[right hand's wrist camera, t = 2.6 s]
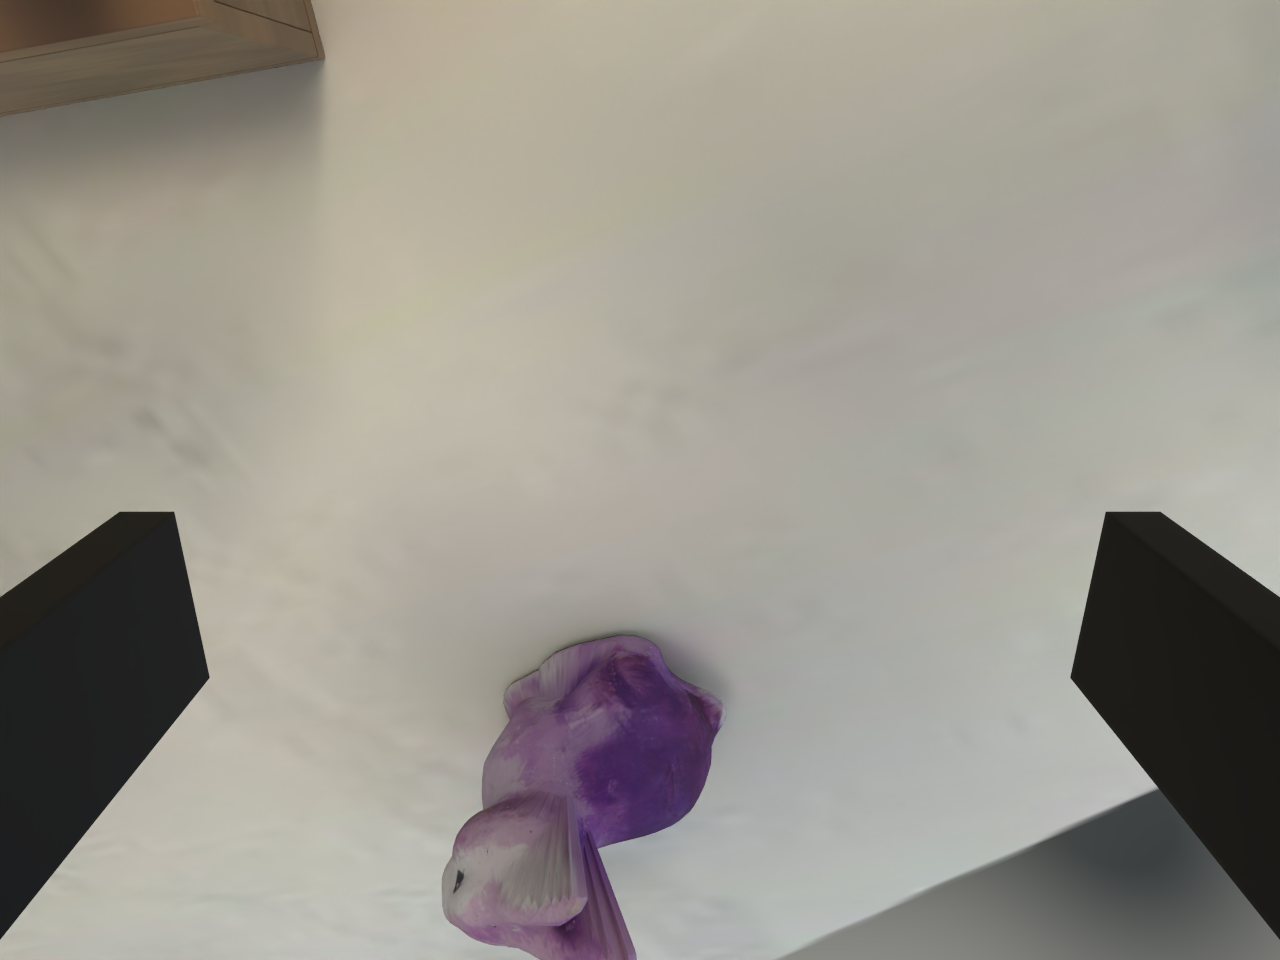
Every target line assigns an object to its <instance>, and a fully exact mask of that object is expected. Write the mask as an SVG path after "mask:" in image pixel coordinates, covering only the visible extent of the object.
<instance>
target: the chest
mask: <svg viewBox="0 0 1280 960" xmlns="http://www.w3.org/2000/svg"><path fill="white" fill-rule="evenodd" d="M214 3H215V6H216V9H217V13H218V16H219V20H220V22H218V23H213V24H207V25H202V26H196V27H191V28H185V29H180V30H174V31H169V32H163V33H158V34H152V35H147V36H141V37H136V38H130V39H124V40H119V41H113V42H108V43H102V44H97V45H91V46H86V47H80V48H75V49H69V50H64V51H58V52H53V53H47V54H41V55H36V56H30V57H25V58H19V59H14V60H8V61H3V62H0V116H5V115H10V114H16V113H22V112H27V111H33V110H39V109H44V108H50V107H56V106H61V105H67V104H73V103H78V102H84V101H90V100H95V99H101V98H106V97H112V96H118V95H123V94H129V93H135V92H140V91H146V90H152V89H157V88H163V87H169V86H174V85H180V84H186V83H191V82H197V81H202V80H208V79H214V78H219V77H225V76H231V75H236V74H242V73H248V72H253V71H259V70H265V69H270V68H276V67H282V66H287V65H293V64H298V63H304V62H310V61H315V60H321V59H324V58H325V55H324V52H323V48H322V44H321V40H320V36H319V32H318V29H317V25H316V21H315V17H314V13H313V9H312V6H311V2H310V0H214Z"/></svg>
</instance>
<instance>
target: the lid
mask: <svg viewBox="0 0 1280 960" xmlns="http://www.w3.org/2000/svg"><path fill="white" fill-rule="evenodd" d="M218 22H220V20H219V16H218V13H217V9H216V6H215V3H214V0H0V62H3V61H8V60H14V59H19V58H25V57H30V56H36V55H41V54H47V53H53V52H58V51H64V50H69V49H75V48H80V47H86V46H91V45H97V44H102V43H108V42H113V41H119V40H124V39H130V38H136V37H141V36H147V35H152V34H158V33H163V32H169V31H174V30H180V29H185V28H191V27H196V26H202V25H207V24H213V23H218Z"/></svg>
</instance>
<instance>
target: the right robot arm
mask: <svg viewBox="0 0 1280 960" xmlns="http://www.w3.org/2000/svg"><path fill="white" fill-rule="evenodd" d="M209 678H210V677H209V673H208V668H207V663H206V659H205V654H204V649H203V645H202V640H201V635H200V631H199V626H198V621H197V617H196V612H195V607H194V602H193V598H192V593H191V588H190V584H189V579H188V574H187V570H186V565H185V560H184V556H183V551H182V546H181V542H180V537H179V532H178V528H177V523H176V518H175V514H174V512H119V513H117V514H116V515H115V516H113V517H112V518H110V519H109V520H108V521H106V522H105V523H103V524H102V525H101V526H99V527H98V528H96V529H95V530H94V531H92V532H91V533H89V534H88V535H87V536H85V537H84V538H82V539H81V540H80V541H78V542H77V543H75V544H74V545H73V546H71V547H70V548H68V549H67V550H66V551H64V552H63V553H61V554H60V555H59V556H57V557H56V558H54V559H53V560H52V561H50V562H49V563H48V564H46V565H45V566H43V567H42V568H41V569H39V570H38V571H36V572H35V573H34V574H32V575H31V576H29V577H28V578H27V579H25V580H24V581H22V582H21V583H20V584H18V585H17V586H15V587H14V588H13V589H11V590H10V591H8V592H7V593H6V594H4V595H3V596H1V597H0V939H1V938H2V937H3V935H4V934H5V933H6V932H7V930H8V929H9V928H10V927H11V925H12V924H13V923H14V922H15V920H16V919H17V918H18V917H19V915H20V914H21V913H22V912H23V910H24V909H25V908H26V907H27V905H28V904H29V903H30V902H31V900H32V899H33V898H34V897H35V895H36V894H37V893H38V892H39V890H40V889H41V888H42V887H43V885H44V884H45V883H46V882H47V880H48V879H49V878H50V877H51V875H52V874H53V873H54V872H55V870H56V869H57V868H58V867H59V865H60V864H61V863H62V862H63V860H64V859H65V858H66V857H67V855H68V854H69V853H70V852H71V850H72V849H73V848H74V847H75V845H76V844H77V843H78V842H79V840H80V839H81V838H82V837H83V835H84V834H85V833H86V832H87V830H88V829H89V828H90V827H91V825H92V824H93V823H94V822H95V820H96V819H97V818H98V817H99V815H100V814H101V813H102V812H103V810H104V809H105V808H106V807H107V805H108V804H109V803H110V802H111V800H112V799H113V798H114V797H115V795H116V794H117V793H118V792H119V790H120V789H121V788H122V787H123V785H124V784H125V783H126V782H127V780H128V779H129V778H130V777H131V775H132V774H133V773H134V772H135V770H136V769H137V768H138V767H139V765H140V764H141V763H142V762H143V760H144V759H145V758H146V757H147V755H148V754H149V753H150V752H151V750H152V749H153V748H154V747H155V745H156V744H157V743H158V742H159V740H160V739H161V738H162V737H163V735H164V734H165V733H166V732H167V730H168V729H169V728H170V727H171V725H172V724H173V723H174V722H175V720H176V719H177V718H178V717H179V715H180V714H181V713H182V712H183V710H184V709H185V708H186V707H187V705H188V704H189V703H190V702H191V700H192V699H193V698H194V697H195V695H196V694H197V693H198V692H199V690H200V689H201V688H202V687H203V685H204V684H205V683H206V682H207V680H208V679H209ZM1070 678H1071V679H1072V680H1073V682H1074V683H1075V684H1076V685H1077V687H1078V688H1079V689H1080V690H1081V692H1082V693H1083V694H1084V695H1085V697H1086V698H1087V699H1088V700H1089V702H1090V703H1091V704H1092V705H1093V707H1094V708H1095V709H1096V710H1097V712H1098V713H1099V714H1100V715H1101V717H1102V718H1103V719H1104V720H1105V722H1106V723H1107V724H1108V725H1109V727H1110V728H1111V729H1112V730H1113V732H1114V733H1115V734H1116V735H1117V737H1118V738H1119V739H1120V740H1121V742H1122V743H1123V744H1124V745H1125V747H1126V748H1127V749H1128V750H1129V752H1130V753H1131V754H1132V755H1133V757H1134V758H1135V759H1136V760H1137V762H1138V763H1139V764H1140V765H1141V767H1142V768H1143V769H1144V770H1145V772H1146V773H1147V774H1148V775H1149V777H1150V778H1151V779H1152V780H1153V782H1154V783H1155V784H1156V785H1157V787H1158V788H1159V789H1160V790H1161V792H1162V793H1163V794H1164V795H1165V797H1166V798H1167V799H1168V800H1169V802H1170V803H1171V804H1172V805H1173V807H1174V808H1175V809H1176V810H1177V812H1178V813H1179V814H1180V815H1181V817H1182V818H1183V819H1184V820H1185V822H1186V823H1187V824H1188V825H1189V827H1190V828H1191V829H1192V830H1193V832H1194V833H1195V834H1196V835H1197V837H1198V838H1199V839H1200V840H1201V842H1202V843H1203V844H1204V845H1205V847H1206V848H1207V849H1208V850H1209V852H1210V853H1211V854H1212V855H1213V857H1214V858H1215V859H1216V860H1217V862H1218V863H1219V864H1220V865H1221V867H1222V868H1223V869H1224V870H1225V872H1226V873H1227V874H1228V875H1229V876H1230V878H1231V879H1232V880H1233V882H1234V883H1235V884H1236V885H1237V887H1238V888H1239V889H1240V890H1241V892H1242V893H1243V894H1244V895H1245V897H1246V898H1247V899H1248V900H1249V902H1250V903H1251V904H1252V905H1253V907H1254V908H1255V909H1256V910H1257V912H1258V913H1259V914H1260V915H1261V917H1262V918H1263V919H1264V920H1265V922H1266V923H1267V924H1268V925H1269V927H1270V928H1271V929H1272V930H1273V932H1274V933H1275V934H1276V935H1277V937H1278V938H1279V939H1280V597H1279V596H1277V595H1276V594H1274V593H1273V592H1272V591H1270V590H1269V589H1267V588H1266V587H1265V586H1263V585H1262V584H1260V583H1259V582H1258V581H1256V580H1255V579H1253V578H1252V577H1251V576H1249V575H1248V574H1246V573H1245V572H1244V571H1242V570H1241V569H1239V568H1238V567H1237V566H1235V565H1234V564H1232V563H1231V562H1230V561H1228V560H1227V559H1226V558H1224V557H1223V556H1221V555H1220V554H1219V553H1217V552H1216V551H1214V550H1213V549H1212V548H1210V547H1209V546H1207V545H1206V544H1205V543H1203V542H1202V541H1200V540H1199V539H1198V538H1196V537H1195V536H1193V535H1192V534H1191V533H1189V532H1188V531H1186V530H1185V529H1184V528H1182V527H1181V526H1179V525H1178V524H1177V523H1175V522H1174V521H1172V520H1171V519H1170V518H1168V517H1167V516H1165V515H1164V514H1163V513H1161V512H1106V514H1105V518H1104V523H1103V528H1102V532H1101V537H1100V542H1099V546H1098V551H1097V556H1096V560H1095V565H1094V570H1093V574H1092V579H1091V584H1090V588H1089V593H1088V598H1087V602H1086V607H1085V612H1084V617H1083V621H1082V626H1081V631H1080V635H1079V640H1078V645H1077V649H1076V654H1075V659H1074V663H1073V668H1072V673H1071V677H1070Z"/></svg>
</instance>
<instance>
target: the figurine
mask: <svg viewBox="0 0 1280 960" xmlns="http://www.w3.org/2000/svg"><path fill="white" fill-rule="evenodd" d="M503 703H504V705H505V709H506V711H507V714H508V716H509V718H510V721H509V723H508V724H507V726H506V728H505V729H504V731H503V732H502V734H501V735H500V737H499V738H498V740H497V741H496V743H495V744H494V746H493V747H492V749H491V751H490V753H489V755H488V757H487V759H486V761H485V763H484V768H483V777H482V801H483V810H482V811H480V812H478V813H477V814H475V815H474V816H473V817H471V818H470V819H469V820H468V821H467V822H466V823H465V824H464V826H463V827H462V828H461V830H460V831H459V833H458V834H457V837H456V840H455V843H454V846H453V853H452V855H453V856H452V857H451V859H450V860H449V862H448V863H447V865H446V868H445V870H444V873H443V876H442V905H443V911H444V915H445V917H446V918H447V920H448V921H449V922H450V923H451V924H453V925H454V926H456V927H458V928H459V929H460V930H462V931H463V932H464V933H466V934H467V935H468V936H469V937H471V938H473V939H475V940H477V941H481V942H484V943H487V944H490V945H496V946H507V947H513V948H519V949H521V950H523V951H525V952H528V953H530V954H532V955H533V956H535V957H537V958H539V959H540V960H637V959H636V952H635V949H634V946H633V943H632V941H631V938H630V935H629V933H628V930H627V927H626V925H625V922H624V919H623V916H622V914H621V911H620V908H619V906H618V903H617V900H616V898H615V895H614V892H613V890H612V887H611V884H610V881H609V879H608V876H607V873H606V871H605V868H604V865H603V863H602V860H601V857H600V855H599V852H598V849H597V848H601V847H604V846H607V845H610V844H614V843H618V842H622V841H626V840H630V839H634V838H638V837H642V836H646V835H649V834H652V833H655V832H658V831H660V830H662V829H665V828H667V827H669V826H671V825H673V824H675V823H676V822H678V821H679V820H680V819H682V818H683V817H684V816H685V815H686V814H687V813H688V812H690V810H691V809H692V808H693V806H694V805H695V803H696V801H697V799H698V798H699V796H700V794H701V792H702V790H703V787H704V785H705V782H706V778H707V775H708V772H709V769H710V765H711V751H712V750H711V746H712V744H713V741H714V738H715V736H716V734H717V732H718V731H719V729H720V727H721V726H722V724H723V722H724V721H725V717H726V707H725V705H724V703H723V702H722V700H720V699H719V698H718V697H717V696H716V695H714V694H713V693H711V692H709V691H706V690H703V689H701V688H698V687H696V686H693V685H691V684H689V683H687V682H685V681H682V680H680V679H678V678H677V677H676V676H675V675H674V674H672V673H671V672H670V670H669V669H668V668H667V666H666V665H665V663H664V661H663V658H662V655H661V652H660V649H659V648H658V647H657V646H656V645H655V644H654V643H652V642H650V641H648V640H646V639H644V638H640V637H636V636H632V635H619V636H614V637H609V638H604V639H599V640H595V641H590V642H586V643H581V644H577V645H574V646H571V647H569V648H566V649H564V650H562V651H556V652H555V653H554V654H553V655H552V656H551V657H550V658H549V659H548V660H547V661H546V662H544V663H543V664H542V665H541V666H539V670H538V671H535V672H533V673H532V674H530V675H528V676H527V677H524V678H522V679H520V680H518V681H516V682H514V683H513V684H511V685H510V686H509V687H508V688H507V689H506V691H505V693H504V702H503Z"/></svg>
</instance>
